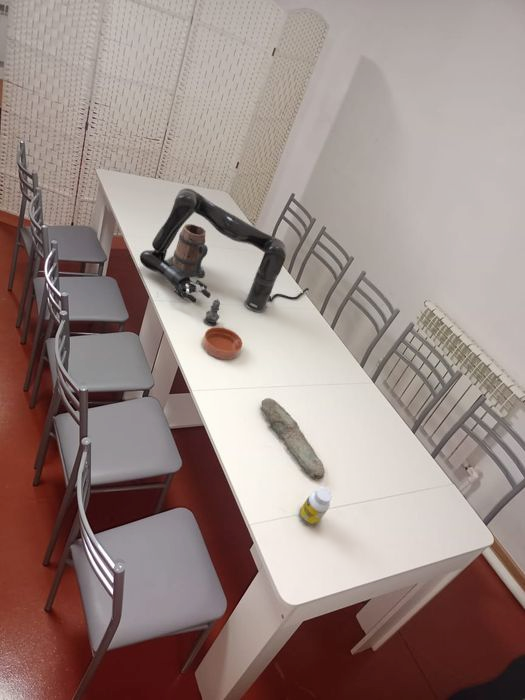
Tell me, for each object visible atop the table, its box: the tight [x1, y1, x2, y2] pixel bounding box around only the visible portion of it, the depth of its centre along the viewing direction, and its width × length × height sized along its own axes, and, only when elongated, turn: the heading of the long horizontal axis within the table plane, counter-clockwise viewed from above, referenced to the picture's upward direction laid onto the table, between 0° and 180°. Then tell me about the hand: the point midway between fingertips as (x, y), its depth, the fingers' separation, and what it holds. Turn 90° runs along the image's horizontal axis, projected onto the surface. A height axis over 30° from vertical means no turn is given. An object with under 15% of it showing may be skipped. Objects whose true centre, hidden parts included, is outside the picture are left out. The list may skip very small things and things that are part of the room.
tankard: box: [167, 223, 208, 279], centre depth 224 cm, size 24×17×20 cm
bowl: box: [202, 326, 243, 360], centre depth 192 cm, size 15×15×4 cm
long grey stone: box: [261, 397, 326, 480], centre depth 166 cm, size 35×5×10 cm
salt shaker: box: [203, 298, 221, 327], centre depth 201 cm, size 6×6×12 cm
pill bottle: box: [299, 487, 333, 526], centre depth 142 cm, size 6×6×12 cm
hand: (202, 298), depth 203 cm, fingers open, 8 cm apart
